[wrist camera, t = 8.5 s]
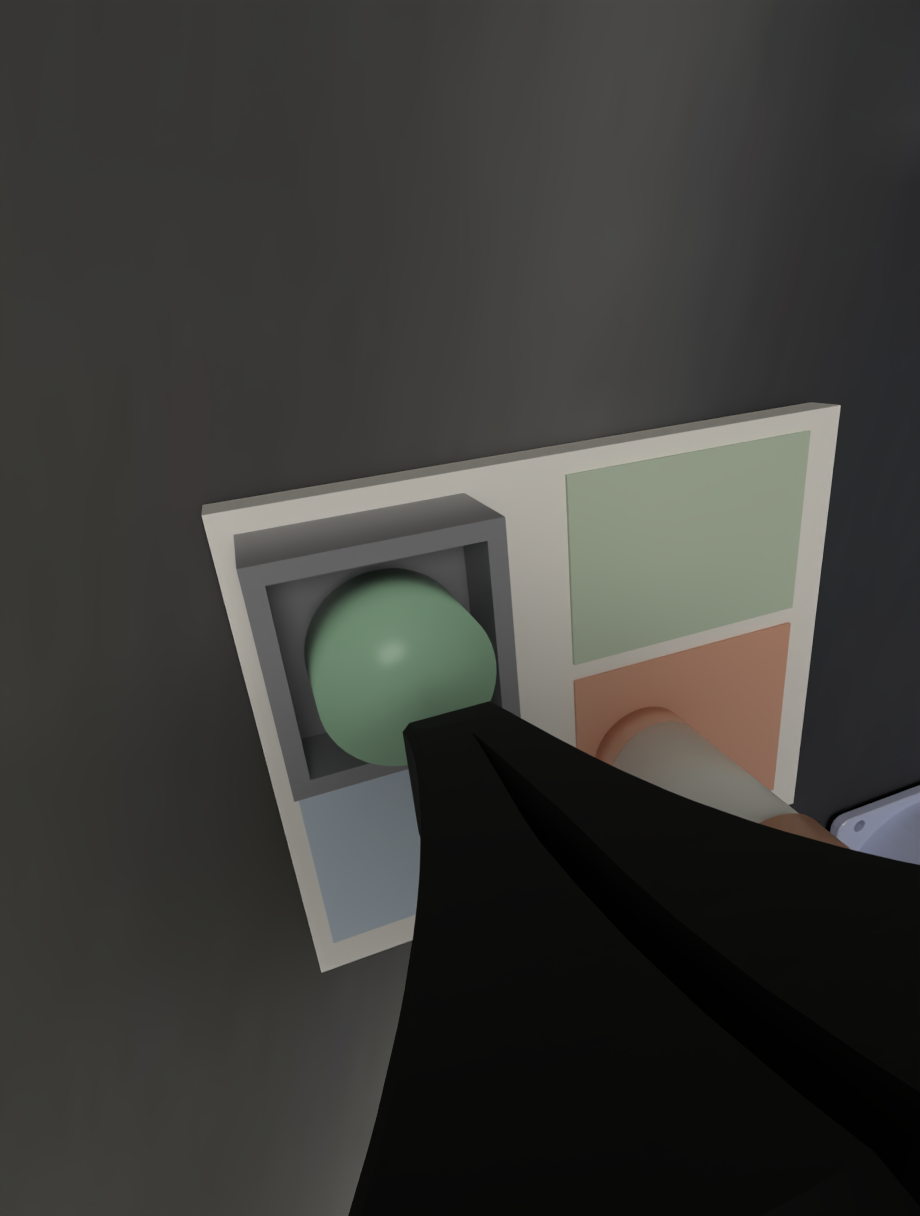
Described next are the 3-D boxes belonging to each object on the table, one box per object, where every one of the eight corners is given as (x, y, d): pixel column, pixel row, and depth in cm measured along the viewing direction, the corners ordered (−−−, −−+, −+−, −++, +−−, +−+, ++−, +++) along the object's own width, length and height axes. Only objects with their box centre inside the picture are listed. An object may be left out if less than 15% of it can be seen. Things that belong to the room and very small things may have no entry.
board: (810, 402, 18) (843, 405, 17) (771, 786, 23) (795, 804, 22) (202, 505, 14) (201, 516, 13) (316, 944, 19) (322, 975, 18)
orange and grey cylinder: (689, 691, 19) (916, 857, 13) (685, 782, 20) (890, 973, 14) (590, 720, 18) (781, 911, 12) (592, 813, 19) (766, 1030, 13)
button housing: (464, 492, 15) (505, 517, 13) (483, 687, 17) (522, 735, 15) (233, 534, 14) (236, 569, 11) (284, 740, 16) (294, 801, 13)
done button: (456, 552, 14) (488, 580, 12) (472, 697, 15) (503, 738, 13) (288, 588, 13) (298, 622, 11) (321, 737, 14) (334, 787, 12)
